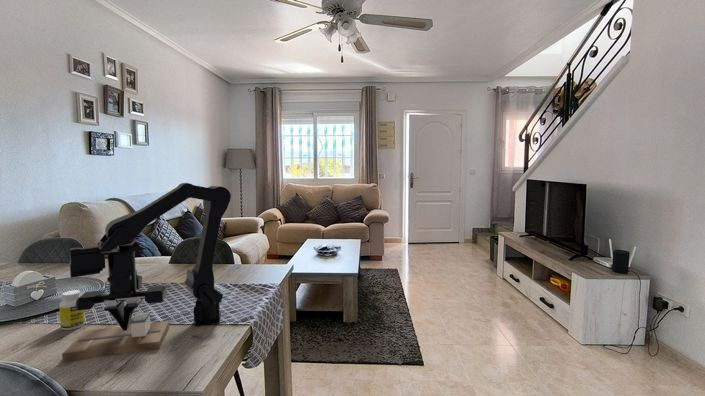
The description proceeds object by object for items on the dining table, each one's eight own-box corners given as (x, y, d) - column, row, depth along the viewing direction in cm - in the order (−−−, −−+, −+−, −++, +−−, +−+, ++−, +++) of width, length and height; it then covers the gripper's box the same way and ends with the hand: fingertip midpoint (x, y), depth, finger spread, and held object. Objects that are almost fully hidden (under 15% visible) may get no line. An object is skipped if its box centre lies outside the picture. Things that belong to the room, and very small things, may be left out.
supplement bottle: (71, 331, 97) (69, 296, 96) (55, 329, 98) (53, 295, 97) (90, 323, 102) (88, 289, 101) (74, 321, 103) (72, 288, 103)
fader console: (169, 328, 99) (168, 320, 99) (159, 349, 88) (159, 341, 88) (84, 338, 93) (84, 330, 93) (62, 361, 82) (62, 353, 82)
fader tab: (150, 327, 95) (149, 311, 94) (145, 336, 90) (144, 319, 89) (137, 328, 94) (136, 313, 93) (131, 337, 89) (130, 321, 88)
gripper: (169, 259, 100) (172, 313, 101) (91, 264, 94) (95, 321, 96) (160, 270, 89) (163, 330, 90) (72, 276, 84) (76, 340, 85)
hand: (125, 329), depth 91 cm, fingers closed
